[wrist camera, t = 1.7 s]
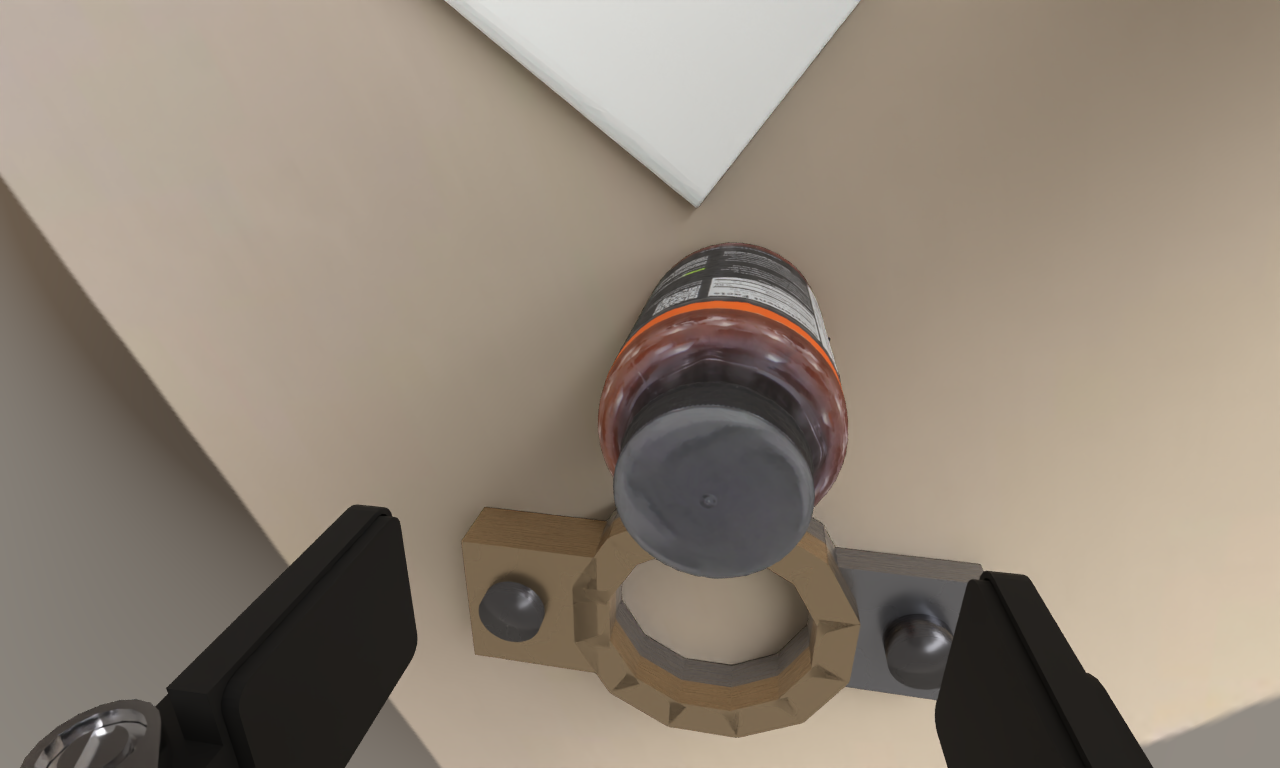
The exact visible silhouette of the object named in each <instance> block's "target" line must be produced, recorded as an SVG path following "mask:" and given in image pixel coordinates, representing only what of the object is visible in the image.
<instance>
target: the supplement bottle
mask: <svg viewBox="0 0 1280 768" xmlns="http://www.w3.org/2000/svg"><path fill="white" fill-rule="evenodd" d="M829 341H830V338H828V336H827V333H826V329H825V326H824V321H823V318H822V315H821V311H820V309H819V306H818V303H817V301H816V298H815V296H814V294H813V292H812V290H811V287H810V286H809V285H808V283H807V281H806V279H805V278H804V276H803V275H802V274H801V273H800V272H799V271H798V270H797V269H796V267H795V266H793V265H792V264H791V263H790V262H789V261H787V260H786V259H784V258H783V257H781V256H780V255H778V254H776V253H774V252H772V251H770V250H768V249H765V248H763V247H759V246H755V245H751V244H744V243H723V244H718V245H712V246H709V247H706V248H702V249H700V250H698V251H696V252H693V253H692V254H690V255H688V256H686V257H685V258H683V259H682V260H681V261H680V262H678V263H677V264H676V265H674V266H673V267H672V268H671V270H669V271H668V272H667V273H666V274H665V276H664V277H663V278H662V279H661V280H660V282H659V284H658V285H657V286H656V288H655V289H654V291H653V293H652V295H651V297H650V298H649V300H648V302H647V303H646V305H645V307H644V308H643V311H642V313H641V315H640V316H639V318H638V320H637V322H636V324H635V325H634V327H633V329H632V330H631V333H630V334H629V336H628V338H627V339H626V341H625V343H624V345H623V346H622V348H621V350H620V352H619V354H618V356H617V358H616V359H615V362H614V364H613V366H612V367H611V369H610V371H609V373H608V376H607V379H606V381H605V385H604V388H603V391H602V395H601V399H600V404H599V413H598V433H599V440H600V445H601V450H602V453H603V456H604V459H605V462H606V464H607V466H608V469H609V471H610V473H611V474H612V476H613V490H614V501H615V505H616V507H617V511H618V514H619V516H620V518H621V521H622V523H623V525H624V526H625V528H626V530H627V531H628V533H629V534H630V535H631V537H632V538H633V539H634V540H635V541H636V542H637V543H638V544H639V546H640V547H641V548H642V549H643V550H645V551H646V552H648V553H649V554H650V555H651V556H653V557H655V558H656V559H657V560H659V561H661V562H662V563H664V564H665V565H668V566H670V567H672V568H674V569H676V570H678V571H681V572H685V573H688V574H691V575H695V576H703V577H707V578H715V579H718V578H733V577H740V576H747V575H749V574H752V573H755V572H758V571H761V570H763V569H766V568H768V567H770V566H772V565H773V564H775V563H777V562H779V561H780V560H781V559H782V558H784V557H785V556H786V555H788V554H789V553H790V552H791V551H792V550H793V549H794V547H795V546H796V545H797V544H798V542H799V541H800V540H801V539H802V537H803V536H804V535H805V533H806V530H807V528H808V526H809V524H810V521H811V518H812V513H813V508H814V506H815V505H817V504H818V502H819V501H820V500H821V499H822V498H823V497H824V496H825V495H826V494H827V492H828V491H829V489H830V488H831V487H832V485H833V483H834V482H835V481H836V478H837V476H838V474H839V472H840V470H841V467H842V465H843V462H844V457H845V455H846V449H847V443H848V417H847V409H846V403H845V398H844V395H843V391H842V388H841V381H840V375H839V373H838V370H837V367H836V363H835V360H834V356H833V353H832V349H831V346H830V342H829Z"/></svg>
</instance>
